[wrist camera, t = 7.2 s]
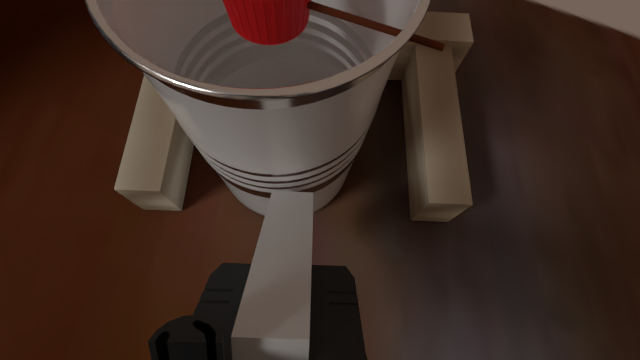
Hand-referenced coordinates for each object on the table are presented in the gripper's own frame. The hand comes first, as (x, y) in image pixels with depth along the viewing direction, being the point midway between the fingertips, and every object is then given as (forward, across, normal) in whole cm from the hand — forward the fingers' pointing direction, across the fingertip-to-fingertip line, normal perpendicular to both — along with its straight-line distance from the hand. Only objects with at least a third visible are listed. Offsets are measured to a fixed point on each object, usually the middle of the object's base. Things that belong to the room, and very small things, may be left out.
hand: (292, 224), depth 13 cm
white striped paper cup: (+7, -1, 0) cm, 7 cm away
